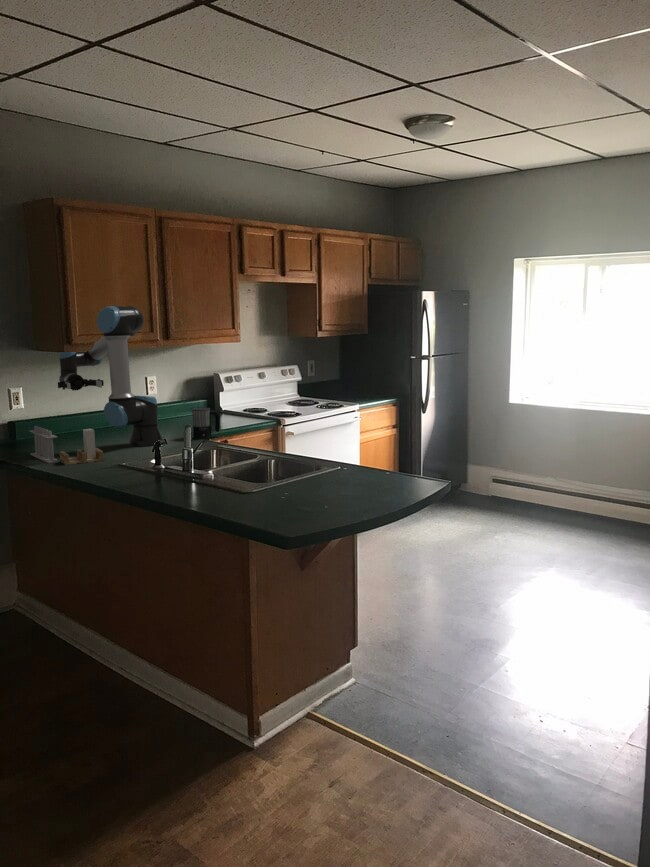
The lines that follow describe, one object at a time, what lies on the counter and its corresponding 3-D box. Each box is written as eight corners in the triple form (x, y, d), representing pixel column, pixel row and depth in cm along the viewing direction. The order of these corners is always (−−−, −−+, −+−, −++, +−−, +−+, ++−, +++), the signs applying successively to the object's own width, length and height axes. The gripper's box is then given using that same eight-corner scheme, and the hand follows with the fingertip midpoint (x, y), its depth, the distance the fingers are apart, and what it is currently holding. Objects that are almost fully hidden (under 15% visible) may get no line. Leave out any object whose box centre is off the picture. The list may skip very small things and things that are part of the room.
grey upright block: (92, 456, 309) (91, 428, 307) (95, 458, 305) (94, 430, 303) (84, 457, 307) (82, 429, 305) (87, 459, 303) (85, 430, 301)
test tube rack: (30, 455, 319) (28, 425, 316) (40, 453, 321) (38, 424, 319) (48, 463, 299) (46, 432, 297) (59, 462, 302) (57, 431, 300)
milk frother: (197, 440, 354) (196, 410, 352) (183, 436, 366) (182, 407, 364) (223, 437, 363) (222, 407, 360) (208, 433, 375) (207, 404, 372)
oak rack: (98, 456, 313) (97, 447, 312) (104, 460, 304) (103, 451, 304) (59, 460, 304) (59, 451, 304) (65, 465, 296) (64, 455, 295)
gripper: (101, 388, 345) (113, 392, 327) (46, 391, 332) (56, 395, 314) (100, 372, 344) (113, 375, 326) (45, 375, 331) (55, 378, 313)
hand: (85, 385), depth 320 cm, fingers open, 13 cm apart
